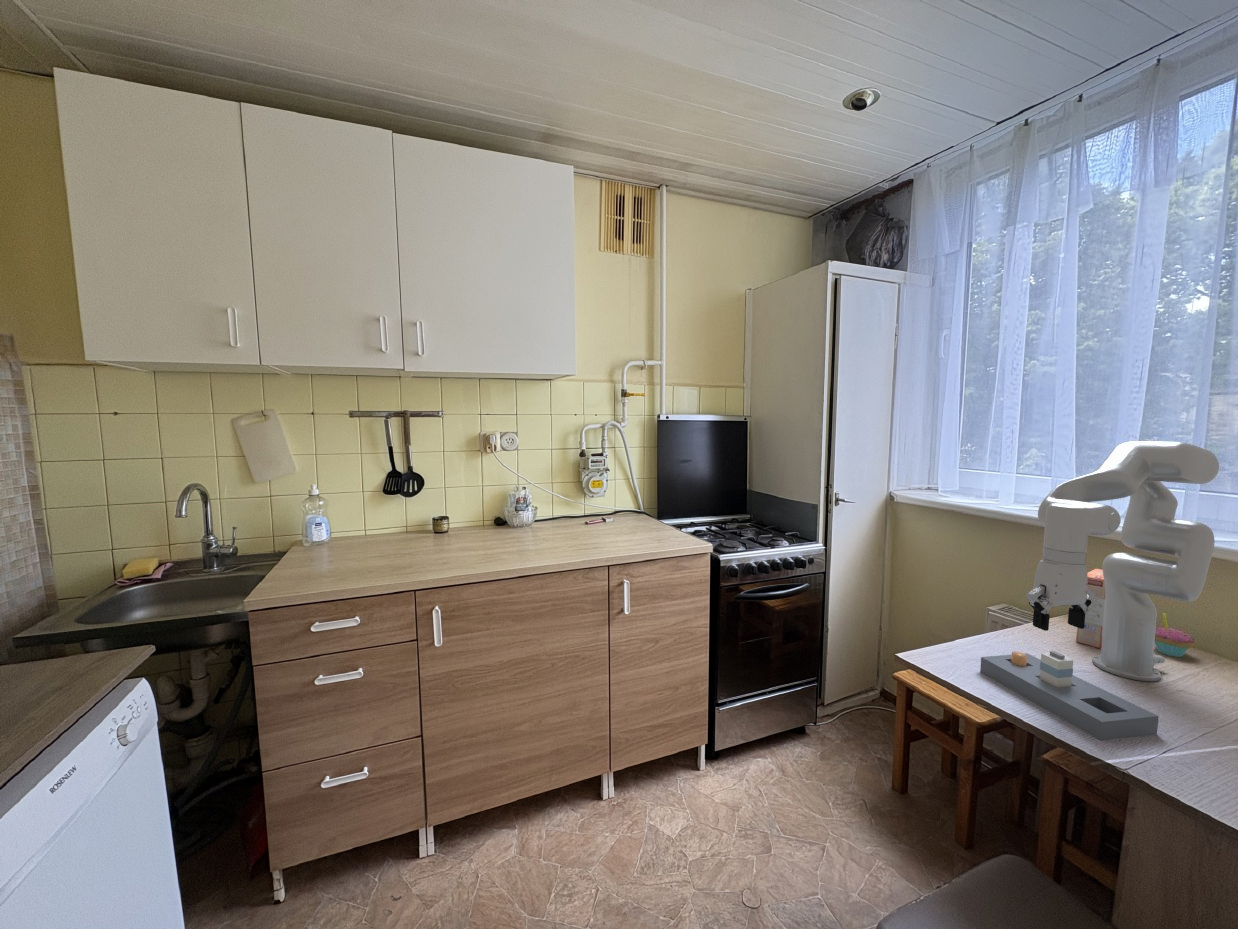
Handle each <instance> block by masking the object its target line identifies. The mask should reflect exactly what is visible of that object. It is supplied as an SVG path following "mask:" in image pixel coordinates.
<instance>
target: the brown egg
mask: <svg viewBox="0 0 1238 929" xmlns="http://www.w3.org/2000/svg"><path fill="white" fill-rule="evenodd" d="M1011 655H1012V659H1011V663H1013V664H1015V665H1017V666H1019V667H1025V666H1026V664H1027V655H1026V654H1025V653H1023V652H1020V651H1012V652H1011Z"/></svg>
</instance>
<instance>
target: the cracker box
mask: <svg viewBox="0 0 1238 929" xmlns="http://www.w3.org/2000/svg"><path fill="white" fill-rule="evenodd" d="M1087 576H1088V589H1089V590H1091V591H1093V592H1094V593H1095V595H1094V597H1093V599H1092V600H1091V602H1092V603H1091V604H1090V606H1089V607H1088V611H1087V612H1085V625H1084V629H1080V628H1077V627H1076V641H1075V642H1076V643H1080V644H1083V645H1086V646H1089V647H1093V648H1097V649H1100V650H1101V644H1102V631H1103V618H1104V607H1105V582H1104V576H1103V569H1102V568H1101V569H1100V568H1094V569H1093V570H1090V571H1087Z"/></svg>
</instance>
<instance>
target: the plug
mask: <svg viewBox="0 0 1238 929" xmlns="http://www.w3.org/2000/svg"><path fill="white" fill-rule="evenodd" d="M1040 660H1041V661H1040V679H1041V680H1043V681H1045V682H1047V683H1049V684H1051V685H1053V686H1055V687H1057V688H1062V687H1071V685H1072V677H1073V675H1074V674H1073V673H1074V659H1072V658H1069V657H1067V656H1066V655H1064V654H1061V653H1059V652H1058V651H1055V650H1051V651H1049V652H1042V653H1040Z"/></svg>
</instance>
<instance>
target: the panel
mask: <svg viewBox="0 0 1238 929" xmlns="http://www.w3.org/2000/svg"><path fill="white" fill-rule="evenodd" d="M1024 654H1026V655H1027V664H1026V666H1025V667H1019V666H1017V665H1015V664H1013V663H1011V659H1012V654H1002V655H991V656H990V655H988V656H981V657H980V668H979V670H980V673H981V674H984V675H985V676H987V677H989V678H990V679H992V680H994V681H996V682H998V683H999V684H1000V685H1002V686H1004V687H1006V688H1008V689H1010V690H1012V691H1013V692H1015V693H1017V694H1018V695H1020V696H1022V697H1023V698H1025V699H1027V700H1028V701H1031V702H1033V703H1034V704H1036V705H1037V706H1040V707H1041V708H1043V709H1045V710H1046V711H1048V712H1050V713H1051V714H1053V715H1055V716H1057V717H1058V718H1061V719H1062V720H1064V721H1066V722H1067V723H1069V724H1071V725H1073V726H1075V727H1076V728H1078V729H1080V731H1083V732H1085V733H1087V734H1089V735H1090V736H1092V737H1094V738H1095V739H1097V740H1099V741H1109V740H1117V739H1119V740H1120V739H1127V738H1135V737H1137V738H1138V737H1145V736H1153V735H1154V736H1155V735H1158V726H1159V717H1160V716H1159V715H1157V714H1155V713H1153V712H1151V711H1149V710H1147V709H1145V708H1143V707H1141V706H1138V705H1136V704H1135V703H1133V702H1130V701H1128V700H1126V699H1124V698H1122V697H1120V696H1118V695H1115V694H1113V693H1111V692H1109V691H1107V690H1106V689H1103V688H1100V687H1098V686H1097V685H1094V684H1092V683H1090V682H1088V681H1087V680H1084V679H1082V678H1080V677H1078V676H1075V675H1074V674H1073V677H1072V685H1071V687H1062V688H1057V687H1055V686H1053V685H1051V684H1049V683H1047V682H1045V681H1043V680H1041V679H1040V661H1041V658H1038V657H1035V656H1034V655H1031V654H1029V653H1027V652H1025V653H1024Z"/></svg>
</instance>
